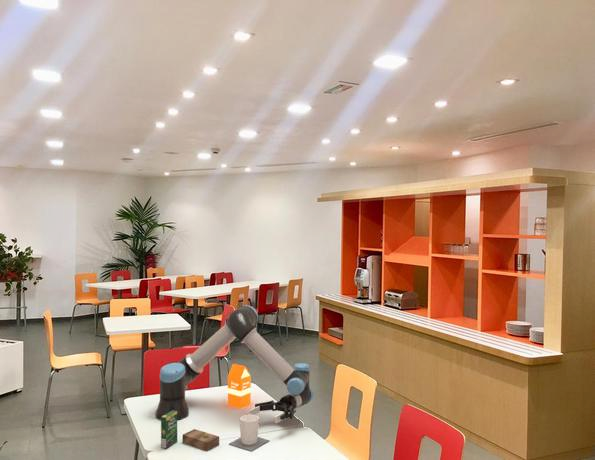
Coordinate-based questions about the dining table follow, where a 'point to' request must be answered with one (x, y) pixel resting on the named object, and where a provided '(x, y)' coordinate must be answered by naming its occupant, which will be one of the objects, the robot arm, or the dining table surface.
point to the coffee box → (169, 429)
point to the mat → (249, 447)
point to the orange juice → (239, 386)
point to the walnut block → (201, 440)
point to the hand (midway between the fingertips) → (262, 416)
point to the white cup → (249, 429)
